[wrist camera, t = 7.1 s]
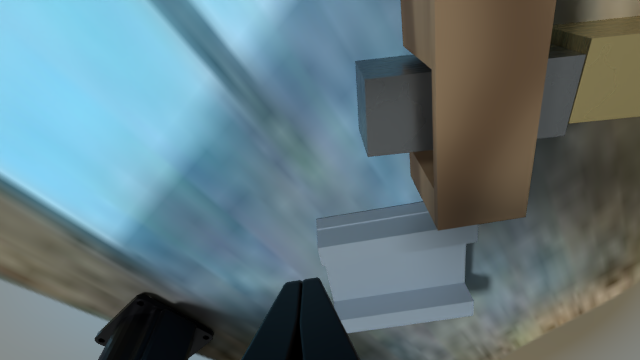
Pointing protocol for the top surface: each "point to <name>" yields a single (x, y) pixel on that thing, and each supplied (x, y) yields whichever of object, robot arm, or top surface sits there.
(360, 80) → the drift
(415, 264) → the cradle
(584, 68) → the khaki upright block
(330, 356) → the robot arm
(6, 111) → the top surface
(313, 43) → the top surface
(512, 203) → the beam
